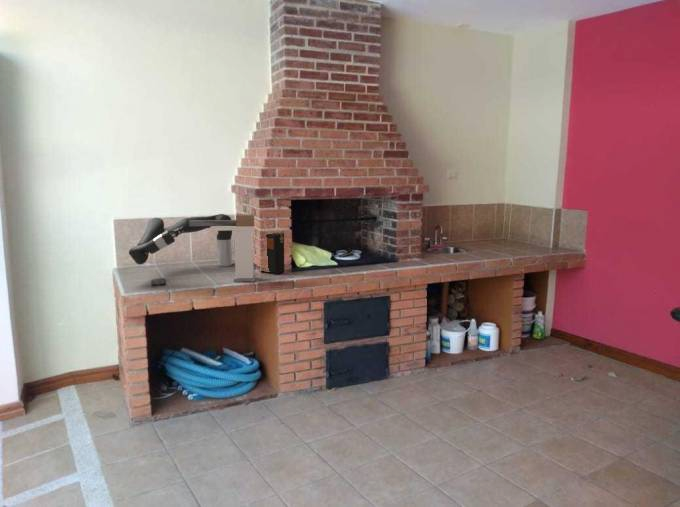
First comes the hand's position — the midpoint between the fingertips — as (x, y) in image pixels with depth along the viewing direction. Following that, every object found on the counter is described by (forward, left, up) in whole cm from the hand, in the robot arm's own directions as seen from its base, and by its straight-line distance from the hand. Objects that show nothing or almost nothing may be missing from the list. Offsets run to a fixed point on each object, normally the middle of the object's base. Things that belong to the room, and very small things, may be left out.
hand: (189, 225), depth 306 cm
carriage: (0, +18, 0) cm, 18 cm away
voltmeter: (-18, +46, -33) cm, 59 cm away
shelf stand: (0, +24, -32) cm, 40 cm away
